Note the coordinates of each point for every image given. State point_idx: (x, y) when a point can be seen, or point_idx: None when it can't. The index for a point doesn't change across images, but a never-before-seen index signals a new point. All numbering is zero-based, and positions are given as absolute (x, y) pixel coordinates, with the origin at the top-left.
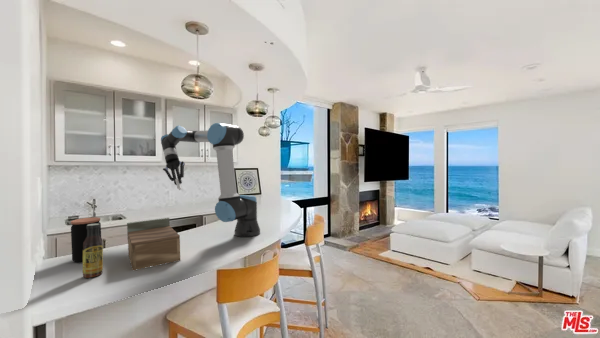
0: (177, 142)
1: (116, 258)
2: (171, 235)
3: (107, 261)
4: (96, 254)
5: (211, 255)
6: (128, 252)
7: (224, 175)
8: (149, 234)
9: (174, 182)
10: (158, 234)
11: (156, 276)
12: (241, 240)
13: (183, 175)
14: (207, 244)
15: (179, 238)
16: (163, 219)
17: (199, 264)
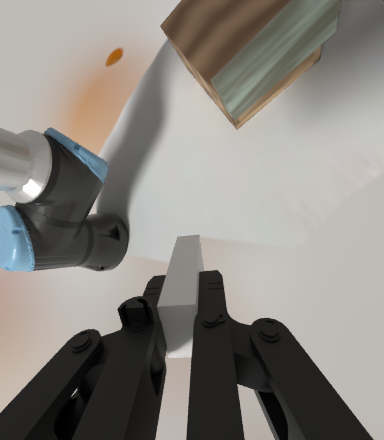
0: None
1: (343, 35)
2: (175, 17)
3: (354, 13)
4: None
5: (146, 103)
6: (319, 50)
7: None
8: (232, 3)
9: (221, 290)
10: (209, 12)
11: None
12: (113, 191)
13: (75, 396)
14: (166, 162)
15: (164, 32)
16: (226, 65)
17: (154, 63)
